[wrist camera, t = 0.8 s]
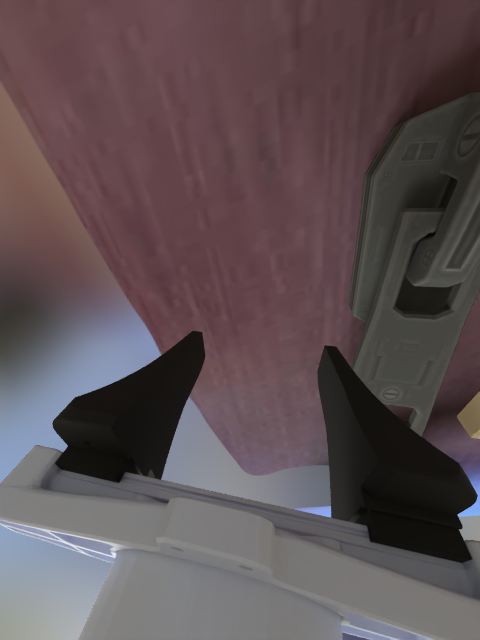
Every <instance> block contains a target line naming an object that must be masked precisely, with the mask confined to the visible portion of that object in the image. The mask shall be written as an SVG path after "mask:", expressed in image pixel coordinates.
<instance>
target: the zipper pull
mask: <svg viewBox="0 0 480 640" xmlns="http://www.w3.org/2000/svg"><path fill="white" fill-rule="evenodd" d="M479 290H480V92H473V93H470V94H467V95H464V96H462V97H459V98H457V99H455V100H452V101H450V102H448V103H445V104H443V105H441V106H438V107H436V108H434V109H431V110H429V111H427V112H424V113H422V114H420V115H418V116H415V117H413V118H411V119H408V120H406V121H404V122H401V123H399V124H397V125H396V126H395V127H394V128H393V129H392V131H391V133H390V134H389V136H388V138H387V139H386V141H385V143H384V144H383V146H382V148H381V149H380V151H379V152H378V154H377V156H376V157H375V159H374V161H373V162H372V164H371V166H370V167H369V169H368V171H367V172H366V174H365V177H364V186H363V194H362V203H361V211H360V220H359V227H358V235H357V242H356V249H355V256H354V263H353V271H352V278H351V285H350V292H349V302H348V304H349V306H350V309H351V311H352V313H353V315H354V316H355V317H356V318H358V319H360V320H361V321H363V322H365V323H367V324H366V326H365V329H364V332H363V334H362V337H361V340H360V343H359V345H358V348H357V351H356V354H355V356H354V359H353V362H352V364H351V368H352V369H353V371H354V372H355V373H356V374H357V376H358V377H359V378H360V379H361V381H362V382H363V383H364V384H365V385H366V387H367V388H368V389H369V390H370V391H371V392H372V393H373V394H374V395H375V396H376V397H377V398H378V399H379V400H380V401H381V402H382V403H383V404H387V405H395V406H403V407H410V408H414V409H413V411H412V413H411V415H410V418H409V420H408V421H407V422H404V423H405V424H406V425H407V426H408V427H410V428H411V429H412V430H413V431H415V432H416V433H417V434H418V435H420V436H421V437H422V435H423V433H424V430H425V427H426V425H427V422H428V420H429V417H430V414H431V411H432V408H433V405H434V403H435V400H436V397H437V395H438V392H439V389H440V387H441V384H442V382H443V379H444V376H445V374H446V371H447V368H448V366H449V363H450V360H451V358H452V355H453V353H454V350H455V347H456V345H457V342H458V339H459V337H460V334H461V332H462V329H463V326H464V324H465V321H466V318H467V316H468V314H469V312H470V310H471V308H472V305H473V303H474V301H475V299H476V297H477V295H478V293H479Z"/></svg>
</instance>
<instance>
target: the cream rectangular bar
mask: <svg viewBox="0 0 480 640" xmlns="http://www.w3.org/2000/svg"><path fill="white" fill-rule="evenodd" d="M456 417H457V418H458V420H459V421H460V423H461V424H462V426H463V427H464V429H465V430H466V432H467V433H468V435H469V436H470V437H471V438H477V439H480V391H479V392H478V393H477V394H476V396H475V397H474V398H473V399H472V400H471V401H470V402H469V403H468V404H467V405H466V406H465V407H464V409H463V410H462V411H461V412H460V413H459V414H458V415H457V416H456Z"/></svg>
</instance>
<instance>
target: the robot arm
mask: <svg viewBox="0 0 480 640" xmlns="http://www.w3.org/2000/svg"><path fill="white" fill-rule="evenodd" d="M204 359H205V350H204V342H203V335H202V332H198V331H192V332H191V333H189V334H188V335H187V336H186V337H185V338H183V339H182V340H181V341H180V342H178V343H177V344H176V345H175V346H173V347H172V348H171V349H170V350H168V351H167V352H166V353H164V354H163V355H161V356H160V357H159V358H157V359H156V360H154V361H153V362H151V363H150V364H149V365H147V366H145V367H143V368H141V369H140V370H138V371H136V372H134V373H133V374H130V375H128V376H127V377H125V378H123V379H121V380H119V381H116V382H114V383H112V384H110V385H107V386H105V387H103V388H100V389H98V390H95V391H92V392H90V393H87V394H84V395H81V396H78V397H75V398H74V399H73V400H72V401H71V403H69V404H68V406H67V407H66V408H65V409H64V410H63V411H62V412H61V413H60V414H59V415H58V416H57V417H56V418H55V419H54V421H53V428H54V430H55V431H56V432H57V434H58V435H59V436H60V437H61V438H62V439H63V440H64V442H65V443H66V444H67V445H68V447H67V449H66V450H65V451H64V452H61V451H59V450H57V449H53V448H49V447H44V446H40V445H36V446H35V447H34V448H33V449H32V450H31V451H30V452H29V453H28V454H27V455H26V456H25V457H24V459H23V460H22V461H21V462H20V463H19V464H18V465H17V466H16V467H15V468H14V469H13V470H12V472H11V473H10V474H9V475H8V476H7V477H6V478H5V479H4V481H2V482H1V484H0V525H2V526H4V527H6V528H8V529H10V530H12V531H14V532H17V533H21V534H24V535H27V536H31V537H34V538H37V539H40V540H44V541H47V542H50V543H53V544H56V545H59V546H62V547H65V548H68V549H71V550H74V551H77V552H80V553H83V554H86V555H89V556H92V557H95V558H98V559H101V560H104V561H107V562H110V563H113V564H112V566H111V568H110V570H109V573H108V575H107V577H106V579H105V582H104V584H103V586H102V588H101V591H100V593H99V595H98V597H97V599H96V602H95V604H94V606H93V608H92V611H91V613H90V615H89V617H88V620H87V622H86V624H85V626H84V628H83V631H82V633H81V635H80V637H79V640H343V638H342V632H343V633H347V634H351V635H355V636H359V637H363V638H366V639H370V640H480V541H474V540H465V541H464V540H463V538H462V536H461V534H460V531H459V529H462V524H461V522H460V520H459V518H458V516H457V514H459V513H461V512H462V511H464V510H465V509H467V508H469V507H470V506H472V505H473V504H474V503H475V502H476V500H477V496H478V495H477V493H476V491H475V490H474V488H473V486H472V484H471V482H470V481H469V479H468V477H467V475H466V474H465V472H464V471H463V469H462V467H461V466H460V464H459V463H457V462H456V461H455V460H453V459H452V458H450V457H449V456H447V455H446V454H444V453H443V452H442V451H440V450H439V449H437V448H436V447H434V446H433V445H432V444H430V443H429V442H428V441H426V440H425V439H424V438H422V437H421V436H420V435H418V434H417V433H416V432H415V431H413V430H412V429H411V428H410V427H408V426H407V425H406V424H405V423H404V422H402V421H401V420H400V419H399V418H398V417H397V416H396V415H394V414H393V413H392V412H391V411H390V410H389V409H388V408H387V407H386V406H385V405H384V404H383V403H382V402H381V401H380V400H379V399H378V398H377V397H376V396H375V395H374V394H373V393H372V392H371V391H370V390H369V389H368V388H367V387H366V385H365V384H364V383H363V382H362V381H361V379H360V378H359V377H358V376H357V374H356V373H355V372H354V371H353V369H352V368H351V367H350V365H349V364H348V363H347V361H346V360H345V358H344V357H343V356H342V354H341V353H340V351H339V350H338V348H337V347H335V346H326V345H325V346H324V349H323V353H322V357H321V360H320V364H319V368H318V386H319V393H320V398H321V404H322V409H323V414H324V419H325V425H326V432H327V443H328V455H329V469H330V489H331V517H332V518H329V517H325V516H320V515H316V514H311V513H307V512H302V511H298V510H294V509H289V508H285V507H280V506H275V505H271V504H266V503H262V502H258V501H253V500H249V499H244V498H240V497H235V496H231V495H226V494H222V493H217V492H213V491H209V490H204V489H199V488H195V487H190V486H186V485H182V484H177V483H173V482H168V481H164V480H161V478H162V474H163V471H164V467H165V464H166V460H167V457H168V453H169V450H170V447H171V444H172V440H173V437H174V434H175V431H176V428H177V425H178V422H179V419H180V417H181V414H182V411H183V408H184V406H185V404H186V401H187V399H188V397H189V395H190V393H191V391H192V389H193V387H194V384H195V382H196V380H197V378H198V376H199V374H200V372H201V369H202V366H203V363H204Z"/></svg>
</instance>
